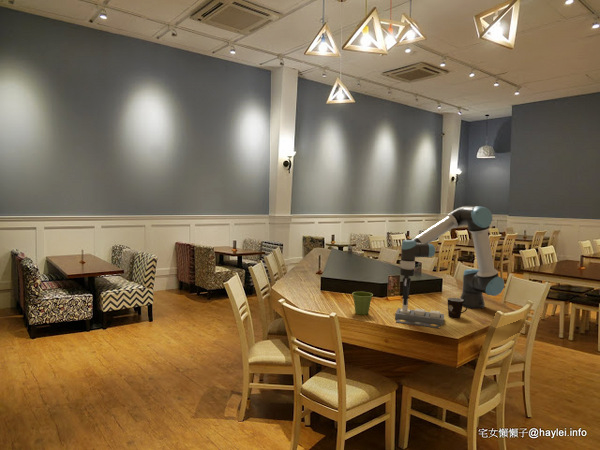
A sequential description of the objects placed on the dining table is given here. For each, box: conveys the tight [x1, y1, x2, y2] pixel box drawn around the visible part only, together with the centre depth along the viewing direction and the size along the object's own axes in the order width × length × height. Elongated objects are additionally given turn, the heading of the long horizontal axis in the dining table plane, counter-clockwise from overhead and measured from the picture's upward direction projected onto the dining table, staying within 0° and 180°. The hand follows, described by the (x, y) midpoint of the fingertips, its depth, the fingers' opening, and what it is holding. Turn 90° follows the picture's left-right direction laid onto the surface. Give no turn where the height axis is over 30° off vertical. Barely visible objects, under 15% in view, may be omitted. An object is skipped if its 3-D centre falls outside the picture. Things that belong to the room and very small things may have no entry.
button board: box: [394, 307, 445, 326], centre depth 237 cm, size 25×12×3 cm, turn 69°
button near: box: [429, 310, 441, 318], centre depth 234 cm, size 5×5×2 cm
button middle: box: [414, 308, 426, 316], centre depth 237 cm, size 5×5×2 cm
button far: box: [400, 308, 411, 314], centre depth 240 cm, size 5×5×2 cm
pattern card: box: [395, 319, 441, 329], centre depth 229 cm, size 22×6×1 cm, turn 69°
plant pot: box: [351, 291, 374, 316], centre depth 244 cm, size 12×12×11 cm
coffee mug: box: [446, 297, 468, 319], centre depth 243 cm, size 12×9×10 cm
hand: (404, 310), depth 240 cm, fingers closed
